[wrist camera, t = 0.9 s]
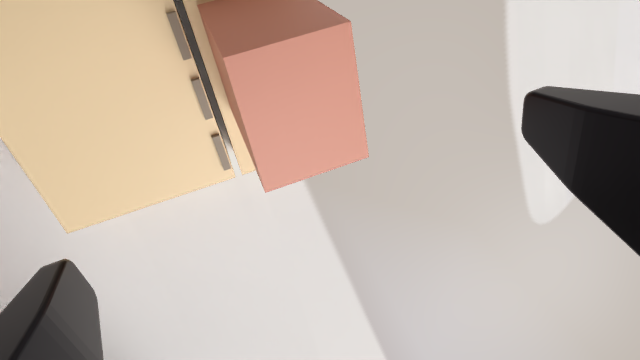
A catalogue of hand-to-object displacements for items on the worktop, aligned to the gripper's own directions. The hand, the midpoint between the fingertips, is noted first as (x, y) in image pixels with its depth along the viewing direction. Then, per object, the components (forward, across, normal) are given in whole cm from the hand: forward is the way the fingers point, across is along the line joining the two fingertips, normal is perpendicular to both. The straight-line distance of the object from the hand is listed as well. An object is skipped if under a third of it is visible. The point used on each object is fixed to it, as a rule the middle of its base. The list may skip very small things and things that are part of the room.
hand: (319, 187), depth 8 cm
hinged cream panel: (+12, +5, 0) cm, 13 cm away
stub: (+12, -1, 0) cm, 12 cm away
